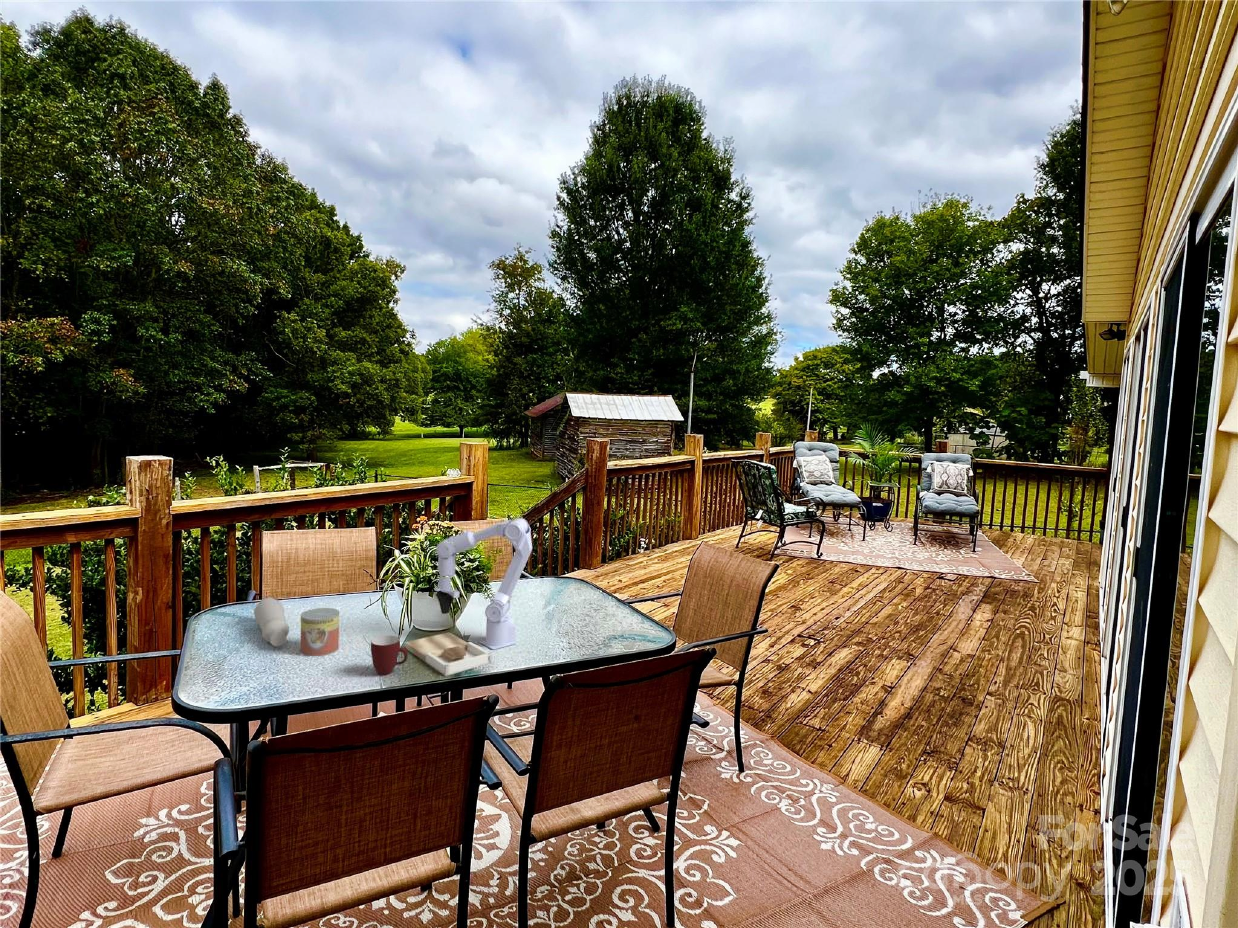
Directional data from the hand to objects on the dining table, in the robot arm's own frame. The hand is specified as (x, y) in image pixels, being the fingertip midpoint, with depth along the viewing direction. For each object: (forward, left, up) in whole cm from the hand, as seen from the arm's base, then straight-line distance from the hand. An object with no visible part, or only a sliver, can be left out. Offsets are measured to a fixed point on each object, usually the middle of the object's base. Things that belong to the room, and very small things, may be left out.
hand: (445, 612), depth 217 cm
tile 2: (+6, +17, -9) cm, 20 cm away
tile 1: (+6, +18, -8) cm, 20 cm away
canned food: (+36, -15, -10) cm, 40 cm away
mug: (+26, +14, -10) cm, 31 cm away
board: (+6, +7, -9) cm, 13 cm away
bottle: (+44, -37, -10) cm, 58 cm away
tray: (+6, +20, -9) cm, 23 cm away
